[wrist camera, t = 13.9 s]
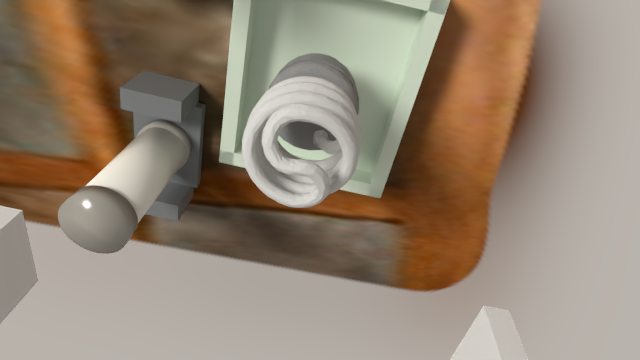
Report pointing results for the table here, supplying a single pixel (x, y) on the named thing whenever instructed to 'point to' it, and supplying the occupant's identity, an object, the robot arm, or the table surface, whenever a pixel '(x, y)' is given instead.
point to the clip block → (176, 106)
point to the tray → (348, 48)
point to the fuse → (125, 188)
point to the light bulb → (304, 131)
